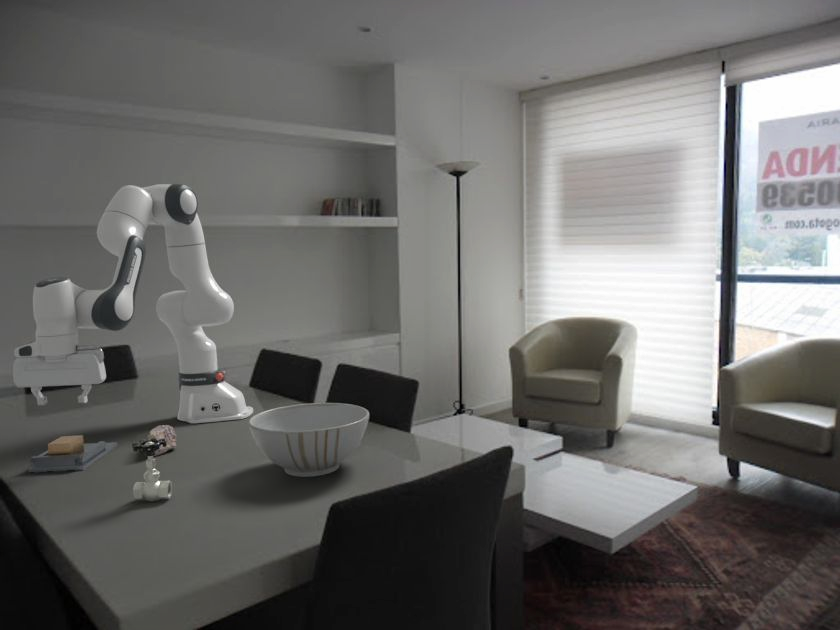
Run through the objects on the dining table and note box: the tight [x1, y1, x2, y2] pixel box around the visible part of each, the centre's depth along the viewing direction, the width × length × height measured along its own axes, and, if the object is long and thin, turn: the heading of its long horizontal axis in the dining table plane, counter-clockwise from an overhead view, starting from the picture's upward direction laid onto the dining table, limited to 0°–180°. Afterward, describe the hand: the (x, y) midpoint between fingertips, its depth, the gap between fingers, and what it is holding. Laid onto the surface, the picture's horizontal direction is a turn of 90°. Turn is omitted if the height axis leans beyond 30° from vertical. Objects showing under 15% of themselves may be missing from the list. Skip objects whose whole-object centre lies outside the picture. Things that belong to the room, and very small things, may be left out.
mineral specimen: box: [147, 424, 177, 458], centre depth 170 cm, size 13×7×6 cm, turn 19°
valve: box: [131, 438, 173, 502], centre depth 134 cm, size 7×7×12 cm
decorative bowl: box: [248, 402, 370, 478], centre depth 151 cm, size 27×27×12 cm
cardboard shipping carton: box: [47, 434, 85, 456], centre depth 161 cm, size 5×7×5 cm
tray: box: [28, 440, 119, 474], centre depth 166 cm, size 12×20×4 cm, turn 3°
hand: (62, 403), depth 160 cm, fingers open, 8 cm apart
